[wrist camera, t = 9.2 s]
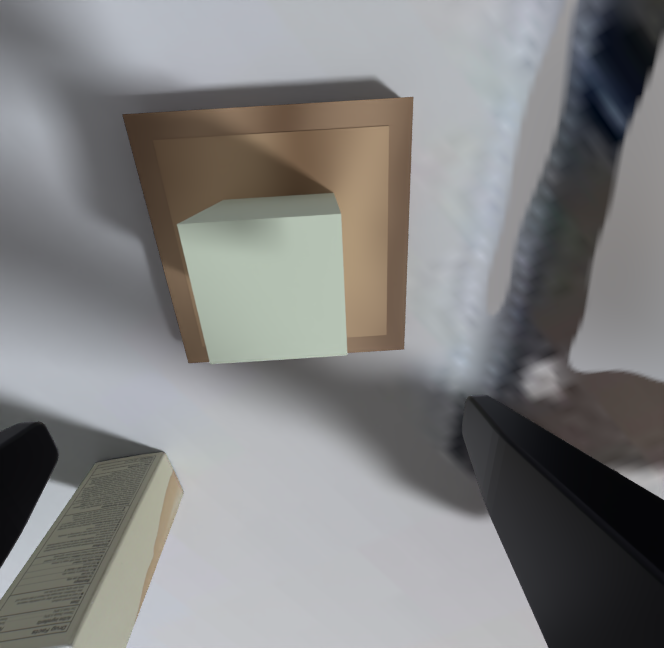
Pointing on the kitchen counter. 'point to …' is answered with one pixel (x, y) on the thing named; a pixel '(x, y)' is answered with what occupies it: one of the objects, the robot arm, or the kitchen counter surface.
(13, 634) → the box
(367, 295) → the plinth
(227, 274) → the block
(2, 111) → the kitchen counter surface
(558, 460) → the robot arm
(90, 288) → the kitchen counter surface
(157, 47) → the kitchen counter surface
